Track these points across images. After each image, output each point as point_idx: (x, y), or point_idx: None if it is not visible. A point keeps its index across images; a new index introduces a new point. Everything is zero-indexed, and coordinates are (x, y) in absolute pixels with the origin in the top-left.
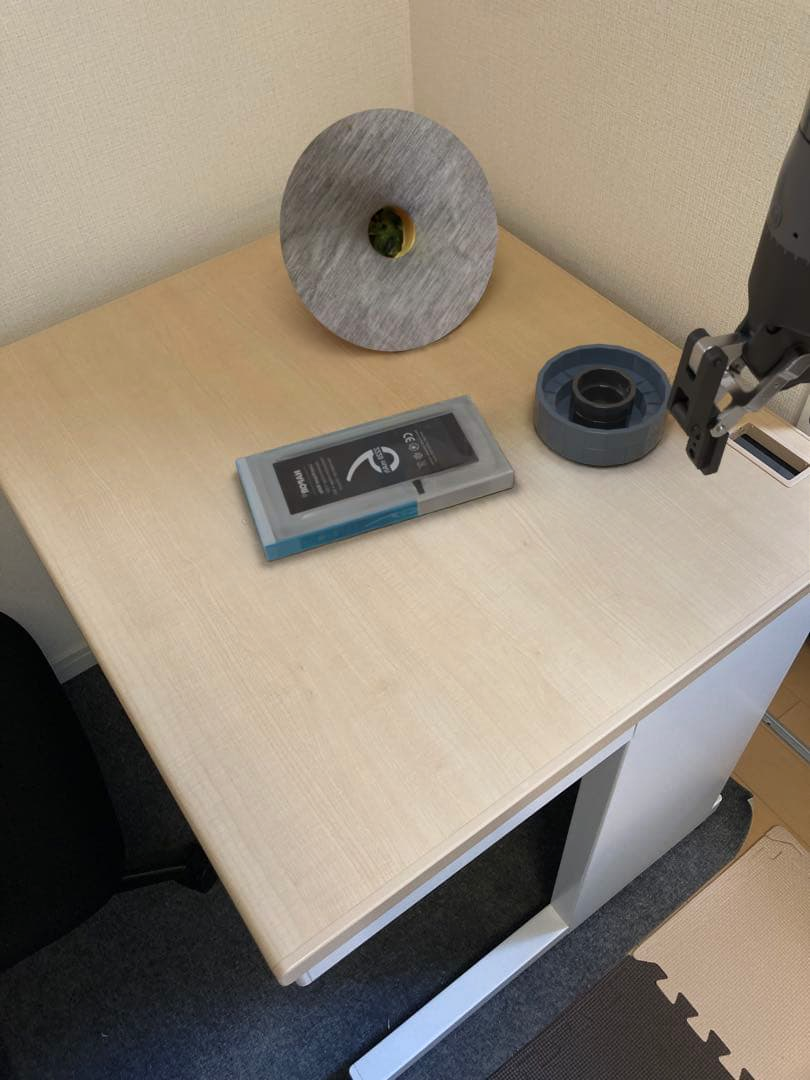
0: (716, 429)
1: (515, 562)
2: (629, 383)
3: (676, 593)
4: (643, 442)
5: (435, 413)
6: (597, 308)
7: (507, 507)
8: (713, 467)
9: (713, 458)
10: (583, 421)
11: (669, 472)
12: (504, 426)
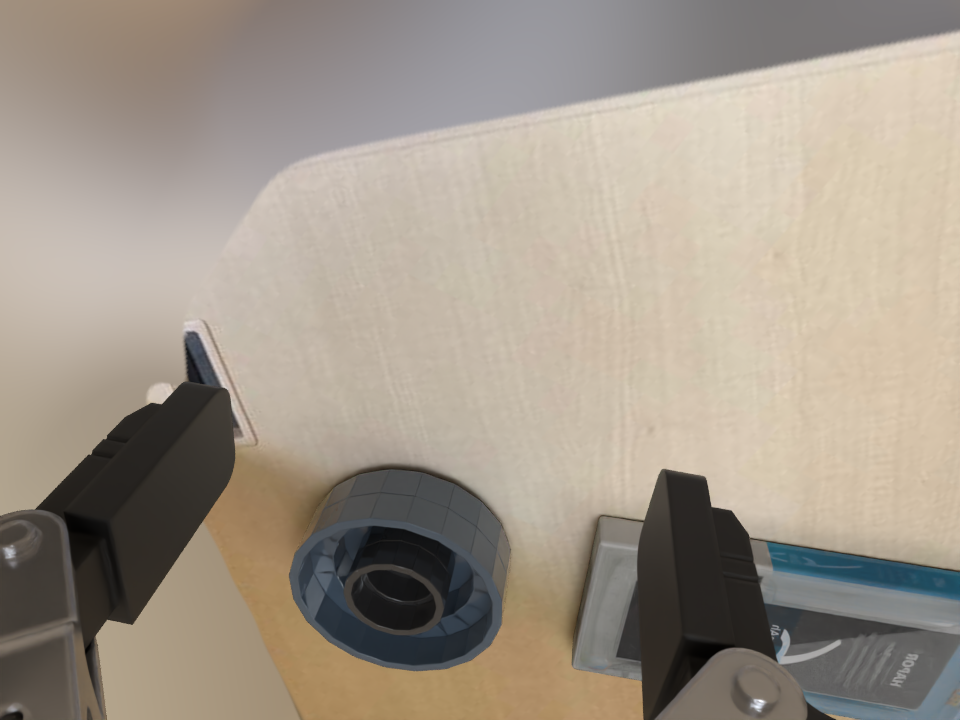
0: (783, 704)
1: (687, 410)
2: (352, 587)
3: (489, 241)
4: (384, 492)
5: (639, 666)
6: (301, 677)
7: (630, 492)
8: (694, 498)
9: (713, 539)
10: (446, 560)
11: (363, 427)
12: (542, 597)
